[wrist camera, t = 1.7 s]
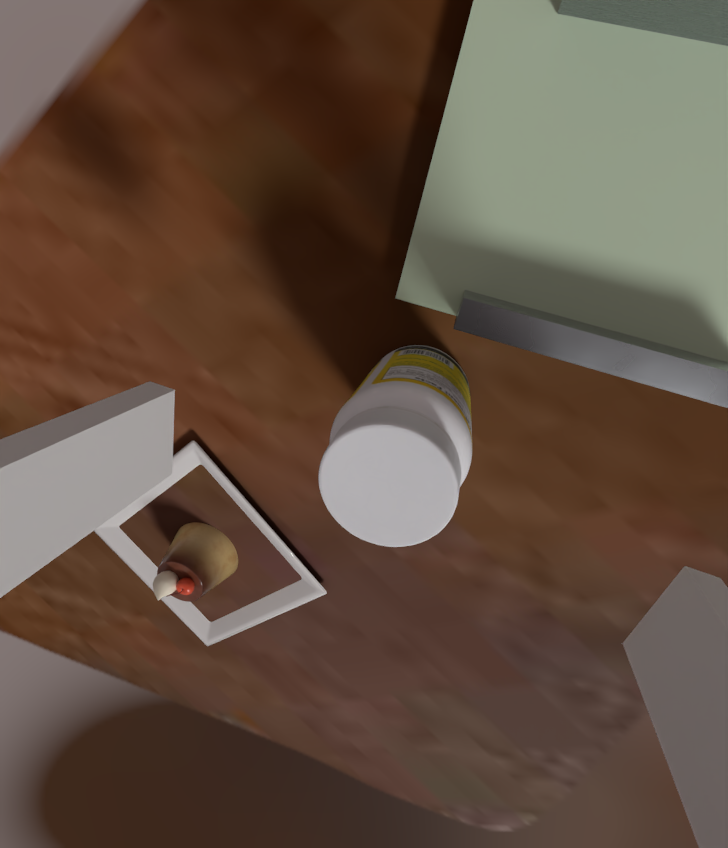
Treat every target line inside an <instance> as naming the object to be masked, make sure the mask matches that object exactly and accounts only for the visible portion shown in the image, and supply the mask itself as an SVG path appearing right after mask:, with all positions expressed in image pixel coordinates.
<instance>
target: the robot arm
mask: <svg viewBox="0 0 728 848" xmlns="http://www.w3.org/2000/svg"><path fill="white" fill-rule="evenodd" d="M174 399H175V390H173V389H171V388H168V387H165V386H162V385H159V384H156V383H153V382H147V383H145V384H142V385H139V386H137V387H134V388H132V389H129V390H127V391H124V392H121V393H119V394H116V395H114V396H111V397H109V398H106V399H103V400H101V401H98V402H96V403H93V404H91V405H88V406H85V407H83V408H80V409H78V410H75V411H73V412H70V413H67V414H65V415H62V416H60V417H57V418H55V419H52V420H49V421H47V422H44V423H42V424H39V425H37V426H34V427H31V428H29V429H26V430H24V431H21V432H19V433H16V434H13V435H11V436H8V437H6V438H3V439H1V440H0V598H1V597H2V596H3V595H5V594H6V593H8V592H9V591H10V590H12V589H13V588H14V587H16V586H17V585H19V584H20V583H21V582H23V581H24V580H26V579H27V578H28V577H30V576H31V575H33V574H34V573H35V572H37V571H38V570H39V569H41V568H42V567H44V566H45V565H46V564H48V563H49V562H51V561H52V560H53V559H55V558H56V557H58V556H59V555H60V554H62V553H63V552H64V551H66V550H67V549H69V548H70V547H71V546H73V545H74V544H76V543H77V542H78V541H80V540H81V539H82V538H84V537H85V536H87V535H88V534H89V533H91V532H92V531H94V530H95V529H96V528H98V527H99V526H101V525H102V524H103V523H105V522H106V521H107V520H109V519H110V518H112V517H113V516H114V515H116V514H117V513H119V512H120V511H121V510H123V509H124V508H126V507H127V506H128V505H130V504H131V503H132V502H134V501H135V500H137V499H138V498H139V497H141V496H142V495H144V494H145V493H146V492H148V491H149V490H150V489H152V488H153V487H155V486H156V485H157V484H159V483H160V482H162V481H163V480H164V479H166V478H167V477H169V476H170V475H171V474H172V466H173V433H174ZM623 646H624V649H625V651H626V654H627V657H628V659H629V662H630V665H631V667H632V670H633V673H634V675H635V678H636V681H637V683H638V686H639V689H640V691H641V694H642V697H643V699H644V702H645V705H646V707H647V710H648V713H649V715H650V718H651V721H652V723H653V726H654V729H655V731H656V734H657V736H658V739H659V742H660V745H661V747H662V750H663V752H664V755H665V758H666V761H667V763H668V766H669V768H670V771H671V774H672V777H673V779H674V782H675V785H676V787H677V790H678V793H679V795H680V798H681V800H682V803H683V806H684V809H685V811H686V814H687V817H688V819H689V822H690V825H691V827H692V830H693V833H694V835H695V838H696V841H697V843H698V846H699V848H728V588H727V586H726V585H725V584H724V582H723V581H722V580H721V578H718V577H715V576H712V575H709V574H706V573H704V572H701V571H698V570H695V569H692V568H689V567H686V566H684V567H683V569H682V570H681V571H680V572H679V574H678V575H677V576H676V577H675V579H674V580H673V581H672V582H671V584H670V585H669V586H668V587H667V589H666V590H665V591H664V592H663V594H662V595H661V596H660V597H659V599H658V600H657V601H656V602H655V604H654V605H653V606H652V607H651V609H650V610H649V611H648V612H647V614H646V615H645V616H644V617H643V619H642V620H641V621H640V622H639V624H638V625H637V626H636V627H635V629H634V630H633V631H632V632H631V634H630V635H629V636H628V637H627V639H626V640H625V641H624V642H623Z"/></svg>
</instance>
